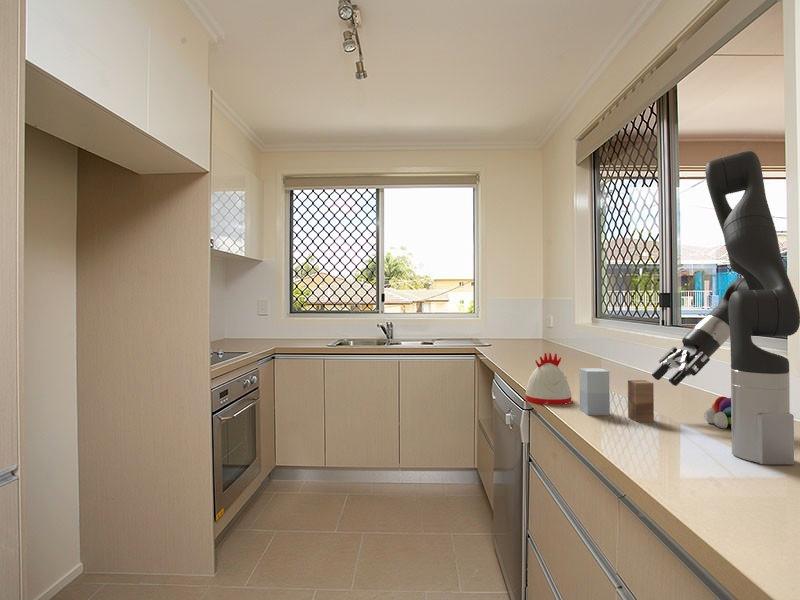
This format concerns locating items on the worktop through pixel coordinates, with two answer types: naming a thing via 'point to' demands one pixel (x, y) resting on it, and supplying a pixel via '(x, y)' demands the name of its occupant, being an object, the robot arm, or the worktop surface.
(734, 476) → the worktop surface
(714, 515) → the worktop surface
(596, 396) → the tower base
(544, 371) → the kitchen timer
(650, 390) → the walnut post
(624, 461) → the worktop surface
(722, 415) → the multicoloured plush toy
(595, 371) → the tower top
